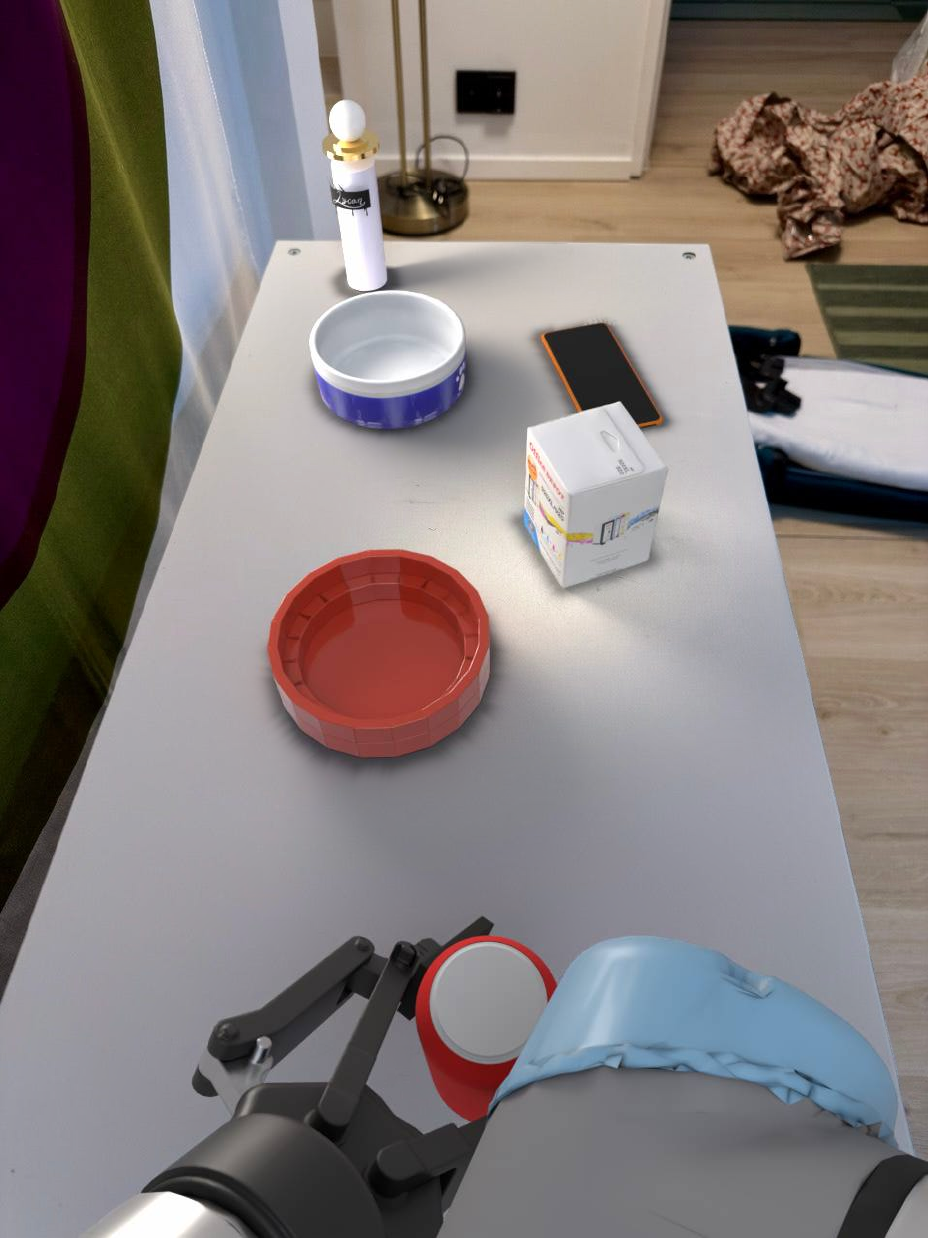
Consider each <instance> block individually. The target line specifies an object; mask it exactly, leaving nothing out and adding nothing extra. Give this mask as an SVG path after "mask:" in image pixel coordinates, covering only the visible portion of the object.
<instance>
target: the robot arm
mask: <svg viewBox="0 0 928 1238" xmlns="http://www.w3.org/2000/svg"><path fill="white" fill-rule="evenodd" d="M494 926H495V923H494V922H492V921H491V920H489V919H488V918H487V917H485V916H484V915H481V916H480V917H478V918H477V919H476V920H475V921H473V922H471V924H469V925H468V926H466V927H465V928H464V929H463V930H462V931H460V932H459V933H457V934H456V935H455V936H454V937H452V938H451V939H449V940H448V941H447V942H445V943H444V944H443V945H441V944H440V943H438V942H437V941H436V940H434V938H432V937H427V938H422V939H420V940H419V941H418V942H417V943H415V944H413V943H411V942H410V941H409V942H408V941H405V940H399V941H397V942H395V945H394V946H393V948H392V950H391V953H390V955H389V957H388V958H387V957H385V956H382V955H379V954H378V953H375V951H376V947H375V945H374V943H373V942H372V941H371V940H370V939H369V938H367V937H365V936H362V935H354V936H351V937H350V938H349V939H348V940H347V941H345V942H343V944H342V945H340V946H339V947H337V948H336V949H335V950H334V951H332V952H331V953H329V955H327V956H326V957H324V958H323V959H322V960H321V961H319V962H318V963H317V964H316V965H314V966H313V967H312V968H311V969H309V970H308V971H307V972H306V973H304V974H303V975H302V976H301V977H298V979H296V980H295V981H294V982H293V983H292V984H290V985H289V986H288V987H286V988H284V990H283V991H281V992H279V993H278V994H277V995H276V996H275V997H274V998H272V999H271V1000H270V1001H269V1002H267V1003H266V1004H265V1005H263V1006H262V1007H261V1008H258V1009H255V1010H252V1011H248V1012H246V1013H245V1012H244V1013H242V1014H238V1015H235V1016H231V1017H228V1018H223V1019H221V1020H219V1021H217V1022H216V1023H215V1024H214V1026H213V1029H212V1031H211V1033H210V1035H209V1038H208V1039H207V1043H206V1045H205V1048H204V1050H203V1052H202V1055H201V1057H200V1059H199V1062H198V1064H197V1066H196V1068H195V1071H194V1073H193V1075H192V1076H191V1077H192V1078H191V1086H192V1089H193V1090H194V1091H195V1092H196V1093H197V1094H199V1095H200V1096H202V1097H207V1098H214V1097H218V1096H219V1098H220V1099H221V1101H222V1103H223V1104H224V1106H225V1108H226V1109H227V1111H228V1113H229V1114H230V1116H231V1118H230V1120H228V1121H227V1122H224V1123H223V1124H222V1125H220V1127H218V1128H217V1129H215V1130H214V1131H213V1132H212V1133H210V1134H209V1135H208V1136H206V1137H205V1138H204V1139H203V1140H201V1141H200V1142H198V1143H197V1144H196V1145H195V1146H193V1147H192V1148H191V1149H190V1150H189V1151H187V1152H186V1153H184V1154H183V1155H182V1156H180V1158H178V1159H177V1160H175V1161H174V1162H173V1163H172V1164H170V1165H169V1166H168V1167H166V1169H164V1170H162V1171H161V1172H160V1173H159V1174H157V1175H156V1176H155V1177H154V1178H152V1179H151V1180H150V1181H149V1182H148V1183H147V1184H146V1185H145V1186H144V1187H143V1188H142V1190H141V1191H140V1192H139V1193H136V1194H135V1195H133V1196H131V1197H129V1198H128V1199H126V1200H125V1201H123V1202H121V1203H120V1204H118V1205H116V1206H115V1207H114V1208H113V1209H111V1210H110V1211H109V1212H108V1213H106V1214H105V1215H104V1216H102V1217H101V1218H100V1219H99V1220H97V1221H96V1222H95V1223H94V1224H93V1225H91V1226H90V1227H89V1228H87V1229H86V1230H85V1231H84V1232H82V1233H81V1234H80V1235H79V1236H78V1237H77V1238H928V1161H927V1160H924V1159H922V1158H919V1157H916V1156H914V1155H912V1154H910V1153H908V1152H906V1151H904V1150H903V1149H900V1148H899V1147H900V1146H899V1143H898V1140H897V1139H896V1137H895V1128H896V1123H897V1116H898V1109H899V1108H898V1107H899V1104H898V1103H899V1102H898V1093H897V1090H896V1088H895V1083H894V1081H893V1079H892V1075H891V1073H890V1070H889V1068H888V1066H887V1064H886V1063H885V1061H884V1060H883V1058H882V1057H881V1056H880V1054H879V1053H878V1052H877V1050H876V1049H875V1048H874V1046H873V1045H872V1044H871V1043H870V1041H869V1040H868V1039H867V1038H866V1037H865V1036H864V1035H863V1034H862V1033H861V1032H859V1031H858V1029H856V1028H855V1027H854V1026H853V1025H852V1024H851V1023H850V1022H848V1021H847V1020H846V1019H845V1018H844V1017H842V1016H840V1015H839V1014H838V1013H837V1012H835V1011H834V1010H833V1009H832V1008H830V1007H829V1006H827V1005H826V1004H824V1003H822V1002H821V1001H820V1000H818V999H816V998H815V997H813V996H811V995H810V994H809V993H807V992H806V991H804V990H802V989H801V988H798V987H797V986H795V985H793V984H791V983H789V982H787V981H785V980H782V979H781V978H779V977H777V976H776V975H775V976H774V975H768V974H767V975H766V974H760V973H757V972H754V971H751V970H749V969H747V968H745V967H743V966H742V965H740V964H738V963H736V962H734V961H733V960H732V959H730V958H729V956H727V955H725V954H724V953H723V952H721V951H718V950H715V949H713V948H709V947H707V946H703V945H699V944H696V943H693V942H688V941H684V940H679V939H674V938H669V937H663V936H656V935H627V936H626V935H625V936H619V937H618V936H617V937H612V938H608V939H605V940H602V941H599V942H597V943H595V944H593V945H591V946H590V947H588V948H587V949H585V950H583V951H582V952H581V953H580V954H579V955H578V956H576V957H575V958H574V960H573V961H572V962H571V963H570V965H569V966H568V967H567V969H566V970H565V972H564V973H563V975H562V977H561V979H560V980H559V982H558V984H557V988H556V990H555V992H554V993H553V995H552V997H551V999H550V1001H549V1003H548V1004H547V1006H546V1008H545V1010H544V1012H543V1013H542V1015H541V1017H540V1019H539V1021H538V1023H537V1024H536V1026H535V1028H534V1030H533V1032H532V1034H531V1035H530V1037H529V1039H528V1041H527V1043H526V1044H525V1046H524V1048H523V1050H522V1052H521V1054H520V1055H519V1057H518V1059H517V1061H516V1063H515V1065H514V1066H513V1068H512V1070H511V1072H510V1074H509V1075H508V1076H507V1078H506V1079H505V1080H504V1081H503V1083H502V1084H501V1085H500V1086H499V1088H498V1089H497V1091H496V1093H495V1096H494V1098H493V1100H492V1102H491V1103H490V1104H489V1108H488V1114H487V1115H486V1116H483V1117H481V1118H479V1119H477V1120H474V1121H472V1122H470V1121H469V1122H468V1123H466V1124H463V1125H461V1126H459V1127H458V1126H457V1124H456V1123H454V1122H450V1123H447V1124H444V1125H442V1126H440V1127H438V1128H435V1129H434V1130H431V1131H429V1132H426V1133H423V1132H422V1131H420V1129H418V1128H417V1127H416V1126H414V1125H412V1124H411V1123H409V1122H407V1121H405V1120H404V1119H402V1118H400V1117H399V1116H397V1115H396V1114H395V1113H394V1112H393V1110H392V1109H391V1108H390V1107H389V1105H388V1104H387V1102H386V1101H385V1100H384V1098H383V1097H381V1096H380V1095H379V1094H378V1093H377V1092H375V1090H374V1089H372V1088H371V1087H370V1086H369V1085H368V1084H367V1082H368V1080H369V1079H370V1076H371V1073H372V1071H373V1069H374V1066H375V1063H376V1062H377V1059H378V1055H379V1052H380V1050H381V1048H382V1046H383V1043H384V1040H385V1038H386V1036H387V1033H388V1031H389V1029H390V1026H391V1024H392V1022H393V1020H394V1017H395V1015H396V1013H397V1012H398V1013H399V1014H400V1015H401V1016H403V1017H404V1018H405V1019H406V1020H407V1021H410V1022H411V1021H412V1020H413V1019H414V1018H416V1016H415V1010H416V1000H417V995H418V991H419V987H420V985H421V982H422V980H423V977H424V975H425V974H426V972H427V970H428V969H429V967H430V966H431V964H432V963H433V962H434V961H435V960H436V958H437V957H438V956H439V955H440V954H442V953H443V952H444V951H445V950H446V949H448V948H449V947H451V946H452V945H454V944H456V943H458V942H460V941H463V940H465V939H468V938H472V937H477V936H490V934H491V931H492V930H493V928H494ZM438 970H439V969H438ZM437 972H438V971H437ZM437 972H436V973H437ZM435 976H436V974H435ZM434 978H435V977H434ZM433 980H434V979H433ZM432 983H433V982H432ZM431 987H432V985H431ZM430 992H431V989H430ZM355 994H356V995H358V996H360V997H362V998H364V999H367V1000H368V1001H367V1003H366V1004H365V1007H364V1009H363V1011H362V1012H361V1015H360V1017H359V1019H358V1021H357V1023H356V1025H355V1027H354V1030H353V1032H352V1033H351V1036H350V1037H349V1039H348V1042H347V1043H346V1046H345V1048H344V1050H343V1052H342V1054H341V1055H340V1058H339V1060H338V1063H337V1065H336V1067H335V1069H334V1070H333V1073H332V1074H331V1077H330V1079H329V1081H300V1082H299V1081H297V1082H292V1081H291V1082H288V1081H287V1082H286V1081H285V1082H266V1079H267V1077H268V1075H269V1073H270V1071H272V1069H274V1068H275V1067H277V1066H278V1064H279V1063H281V1062H282V1061H283V1060H284V1059H285V1058H286V1057H287V1056H289V1054H291V1052H293V1051H294V1050H295V1049H296V1048H297V1047H298V1046H299V1045H301V1043H303V1042H304V1041H305V1040H307V1038H308V1037H309V1036H310V1035H311V1034H313V1033H314V1032H315V1031H316V1030H317V1029H318V1028H320V1027H321V1025H322V1024H324V1023H325V1022H326V1021H327V1020H328V1019H330V1017H332V1016H333V1014H335V1013H336V1012H337V1011H338V1010H339V1009H340V1008H342V1006H344V1005H345V1004H346V1003H347V1002H348V1001H349V1000H351V999H352V998H353V996H354V995H355ZM447 1210H448V1211H447ZM446 1211H447V1213H446ZM444 1213H446V1215H445V1218H444Z"/></svg>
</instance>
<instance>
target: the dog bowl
mask: <svg viewBox="0 0 928 1238" xmlns="http://www.w3.org/2000/svg"><path fill="white" fill-rule="evenodd" d="M309 336H310V337H309V349H310V353H311V359H312V364H313V369H314V373H315V376H316V377H315V378H316V380H317V386H318V389H319V393H320V396H321V398H322V401H323V402H324V404H325V405H326V407H327V408H328V409H329V410H330V411H331V412H332V413H333V414H335V415H336V416H338V417H339V418H341V419H342V420H343V421H347V422H349V423H350V424H354V425H357V426H361V427H365V428H370V429H378V430H397V429H398V430H399V429H405V428H410V427H414V426H418V425H421V424H424V423H427V422H429V421H431V420H433V419H435V418H437V417H439V416H441V415H443V414H444V413H445V412H447V411H448V410H450V408H451V407H453V405H454V404H456V402H457V401H458V400H459V399H460V397H461V395H462V393H463V391H464V388H465V383H466V369H467V367H466V364H467V363H466V362H467V350H466V349H467V347H466V345H467V339H466V328H465V325H464V323H463V321H462V318H461V317H460V316H459V315H458V313H457V311H455V310H454V309H453V308H452V307H451V306H449V304H446V303H445V302H443V301H442V300H440V299H437V298H436V297H433V296H430V295H428V294H424V293H420V292H415V291H411V290H410V291H409V290H392V289H391V290H379V291H373V292H367V293H363V294H359V295H356V296H353V297H349V298H348V299H345V300H343V301H341V302H339V303H338V304H335V305H334V306H332V307H331V308H330V309H328V310H327V311H326V312H325V313H324V314H322V316H321V317H320V318H319V319H318V320H317V321H316V323H315V324H314V326H313V328H312V330H311V332H310V335H309Z"/></svg>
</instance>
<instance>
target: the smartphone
mask: <svg viewBox="0 0 928 1238" xmlns="http://www.w3.org/2000/svg"><path fill="white" fill-rule="evenodd" d="M540 338H541V342H542V343H543V345H544V347H545V349H546V352H547V353H548V355H549V357H550V359H551V361H552V363H553V364H554V365H553V366H554V367H555V369H556V371H557V372H558V373H557V374H558V375H559V377H560V378H561V380H562V382H563V383H562V384H563V385H564V387H565V388H566V390H567V392H568V394H569V396H570V398H571V400H572V402H573V404H574V406H575V408H576V410H577V413H578V412H582V411H585V410H589V409H593V408H597V407H601V406H605V405H609V404H613V403H616V402H621V403H622V405H623V406H624V407H625V409H626V410H627V411H628V413H629V414H630V416H631V417H632V418H633V420H634V421H635V423H636V424H637V425H638V427H639V428H640V429H645V428H649V427H654V426H659V425H661V424H662V423H663V420H664V418H663V416H662V415H661V412H660V411H659V409H658V407H657V405H656V404H655V403H654V401H653V399H652V398H651V396H650V394H649V393H648V390H647V389H646V387H645V386H644V384H643V382H642V380H641V379H640V377H639V375H638V373H637V372H636V370H635V368H634V367H633V365H632V363H631V361H630V359H629V358H628V356H627V354H626V353H625V352H624V349H623V347H622V346H621V344H620V342H619V340H618V339H617V337H616V336H615V335H614V333H613V332H612V330H611V328H610V326H609V324H607V323H606V322H595V323H589V324H585V325H578V326H574V327H568V328H562V329H558V330H553V331H546V332H544V333H542V334H541V337H540Z"/></svg>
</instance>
